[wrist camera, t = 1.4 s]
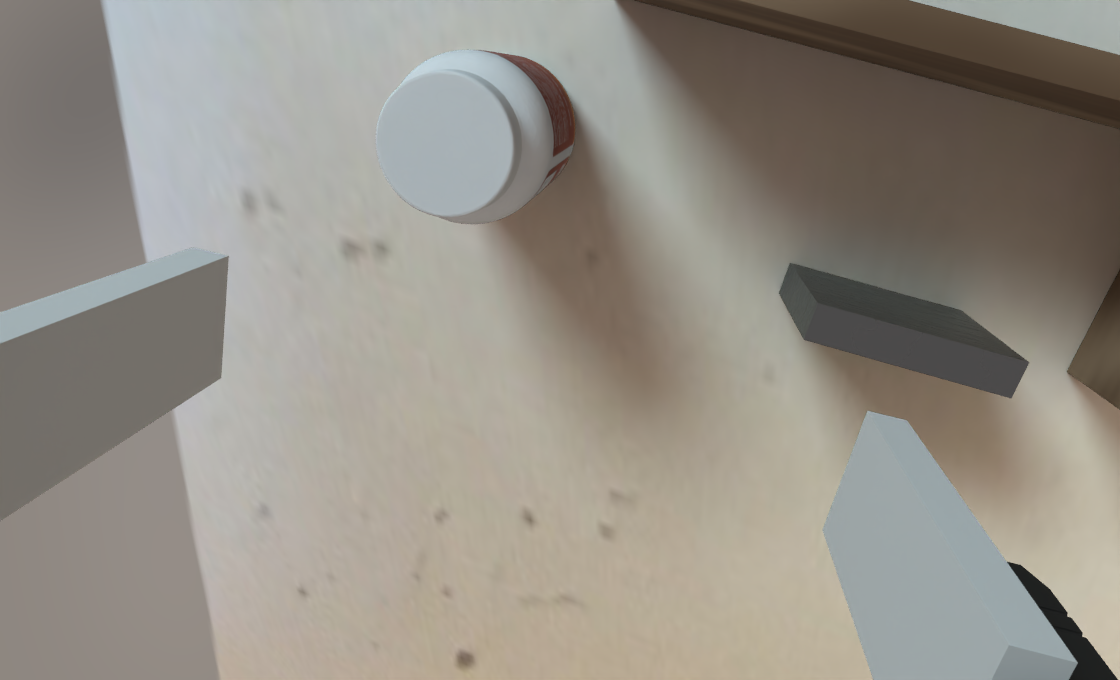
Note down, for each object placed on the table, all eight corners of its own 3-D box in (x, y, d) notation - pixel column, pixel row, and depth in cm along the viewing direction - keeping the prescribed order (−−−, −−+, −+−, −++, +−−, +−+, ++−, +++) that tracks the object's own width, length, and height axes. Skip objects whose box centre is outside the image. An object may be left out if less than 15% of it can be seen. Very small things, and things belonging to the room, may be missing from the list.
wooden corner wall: (619, -36, 32) (602, -80, 24) (1228, 124, 31) (1436, 137, 23) (553, 227, 36) (517, 270, 28) (1092, 379, 35) (1227, 471, 27)
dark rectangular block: (790, 262, 35) (817, 303, 29) (961, 310, 35) (1029, 362, 28) (778, 293, 36) (803, 339, 29) (947, 340, 35) (1011, 398, 29)
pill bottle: (461, 39, 34) (369, 18, 24) (593, 77, 34) (560, 72, 24) (432, 175, 36) (337, 210, 26) (557, 212, 36) (511, 262, 26)
